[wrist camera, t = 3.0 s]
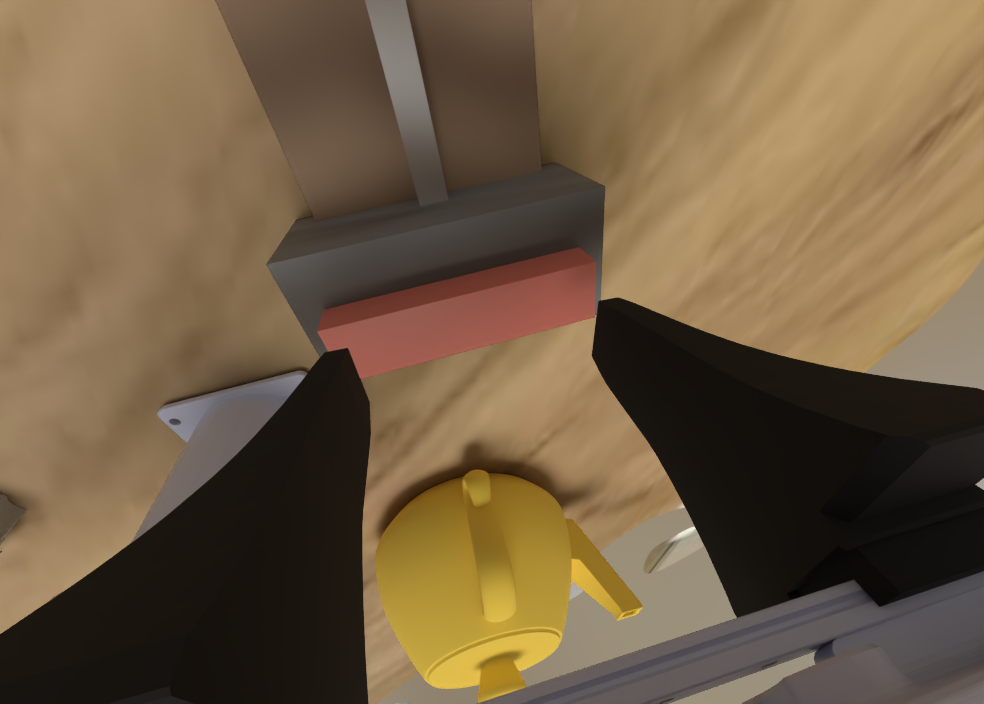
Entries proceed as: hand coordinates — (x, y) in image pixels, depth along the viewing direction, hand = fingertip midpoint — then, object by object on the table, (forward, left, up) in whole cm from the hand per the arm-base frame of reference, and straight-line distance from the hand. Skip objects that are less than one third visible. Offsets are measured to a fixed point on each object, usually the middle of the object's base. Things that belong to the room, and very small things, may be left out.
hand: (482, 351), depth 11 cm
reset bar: (-1, 0, -4) cm, 4 cm away
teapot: (-25, +2, -10) cm, 27 cm away
